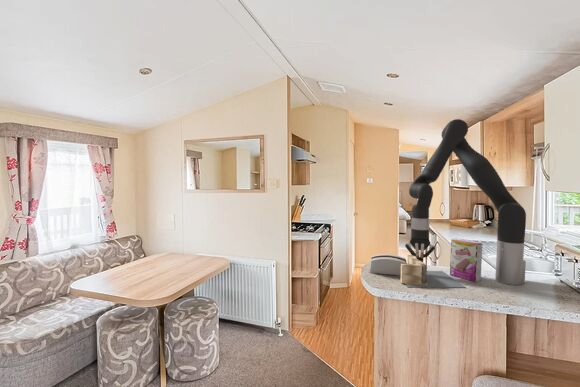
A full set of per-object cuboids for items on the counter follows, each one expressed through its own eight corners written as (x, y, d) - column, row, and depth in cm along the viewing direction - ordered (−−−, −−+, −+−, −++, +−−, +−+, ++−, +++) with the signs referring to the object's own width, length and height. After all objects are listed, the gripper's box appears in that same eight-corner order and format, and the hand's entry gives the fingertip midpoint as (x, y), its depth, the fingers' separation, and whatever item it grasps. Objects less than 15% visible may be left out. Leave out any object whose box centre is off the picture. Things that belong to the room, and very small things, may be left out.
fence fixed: (425, 283, 128) (425, 264, 127) (427, 284, 126) (427, 265, 125) (400, 282, 128) (400, 263, 128) (401, 284, 126) (402, 265, 126)
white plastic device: (408, 272, 140) (408, 253, 136) (408, 278, 136) (408, 260, 132) (370, 268, 146) (369, 251, 142) (369, 275, 142) (368, 257, 138)
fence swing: (407, 271, 141) (407, 255, 141) (410, 271, 141) (411, 255, 141) (420, 281, 128) (420, 263, 128) (424, 281, 128) (424, 263, 128)
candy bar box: (449, 275, 137) (450, 239, 136) (455, 273, 140) (456, 237, 139) (475, 282, 128) (477, 244, 127) (481, 280, 131) (483, 242, 130)
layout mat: (442, 271, 142) (442, 270, 142) (465, 287, 122) (465, 287, 122) (392, 271, 143) (392, 270, 143) (407, 287, 123) (407, 286, 123)
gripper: (436, 227, 138) (436, 265, 139) (405, 225, 144) (405, 261, 145) (436, 230, 131) (435, 269, 132) (403, 228, 137) (403, 266, 138)
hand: (419, 265), depth 139 cm, fingers closed
